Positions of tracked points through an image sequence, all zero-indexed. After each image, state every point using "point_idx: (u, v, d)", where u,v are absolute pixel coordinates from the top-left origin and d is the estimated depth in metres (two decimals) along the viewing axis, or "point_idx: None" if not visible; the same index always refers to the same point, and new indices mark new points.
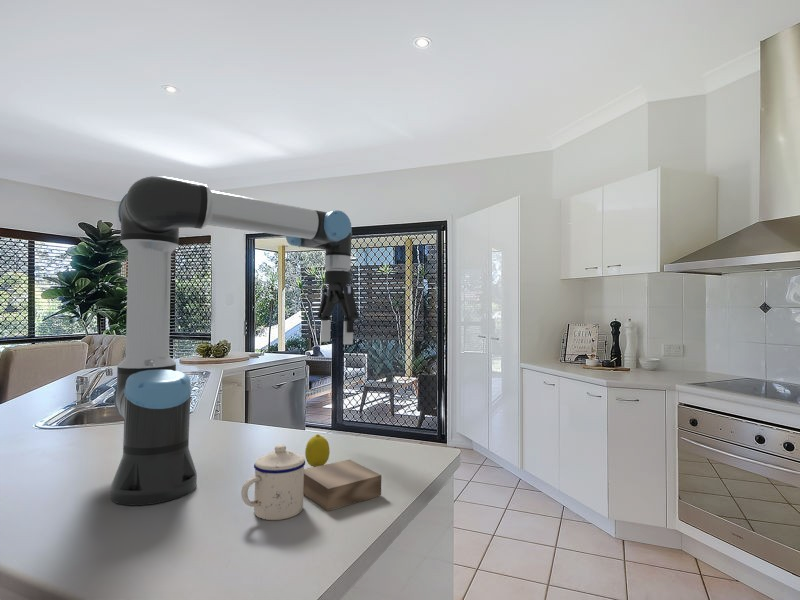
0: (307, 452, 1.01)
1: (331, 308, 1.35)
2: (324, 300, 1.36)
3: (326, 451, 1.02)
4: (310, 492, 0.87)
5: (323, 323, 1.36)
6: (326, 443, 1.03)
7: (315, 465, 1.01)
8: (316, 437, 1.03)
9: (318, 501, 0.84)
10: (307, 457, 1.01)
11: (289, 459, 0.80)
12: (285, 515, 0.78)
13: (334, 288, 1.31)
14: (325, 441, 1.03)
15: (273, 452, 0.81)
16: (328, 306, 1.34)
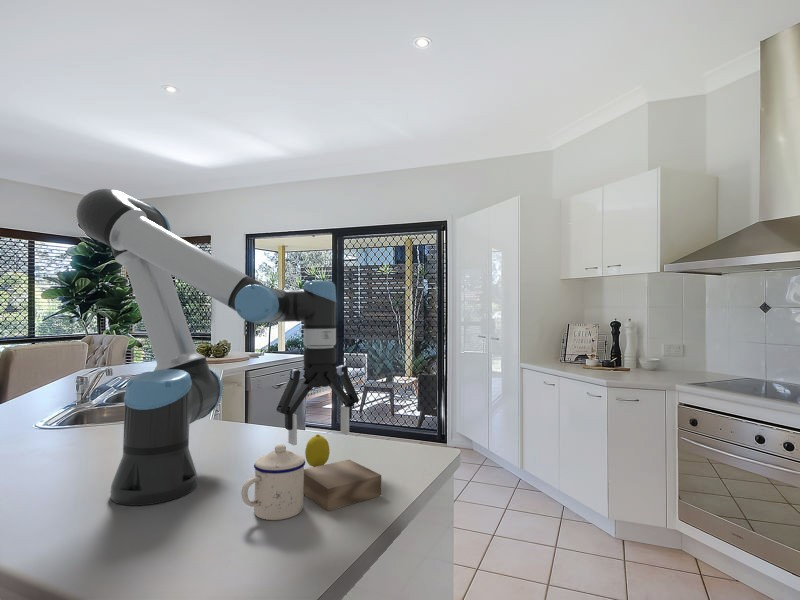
0: (307, 452, 1.01)
1: (337, 392, 1.06)
2: (341, 380, 1.09)
3: (326, 451, 1.02)
4: (310, 492, 0.87)
5: (341, 409, 1.09)
6: (326, 443, 1.03)
7: (315, 465, 1.01)
8: (316, 437, 1.03)
9: (318, 501, 0.84)
10: (307, 457, 1.01)
11: (289, 459, 0.80)
12: (285, 515, 0.78)
13: None
14: (325, 441, 1.03)
15: (273, 452, 0.81)
16: (332, 389, 1.07)
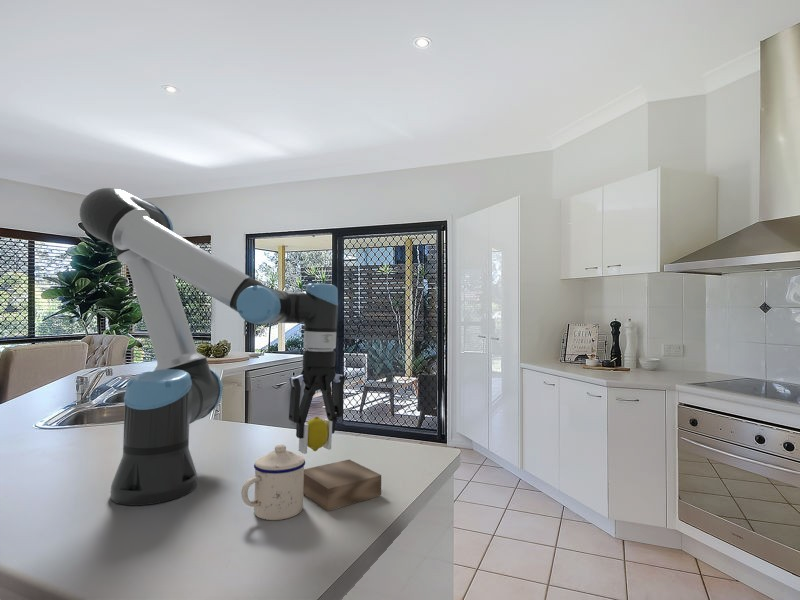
0: None
1: (326, 400, 1.05)
2: (334, 389, 1.08)
3: (325, 433, 1.02)
4: (310, 492, 0.87)
5: None
6: (324, 425, 1.03)
7: (313, 447, 1.01)
8: (315, 419, 1.03)
9: (318, 501, 0.84)
10: None
11: (289, 459, 0.80)
12: (285, 515, 0.78)
13: None
14: (324, 423, 1.03)
15: (273, 452, 0.81)
16: (323, 396, 1.06)
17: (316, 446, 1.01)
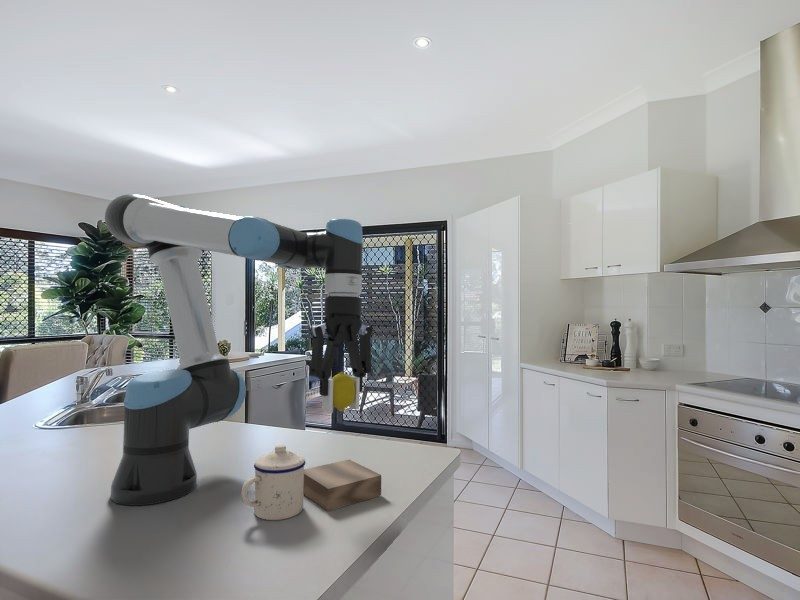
0: None
1: (352, 354, 0.92)
2: (360, 342, 0.95)
3: (352, 390, 0.89)
4: (310, 492, 0.87)
5: None
6: (351, 381, 0.90)
7: (339, 405, 0.88)
8: (340, 374, 0.90)
9: (318, 501, 0.84)
10: None
11: (289, 460, 0.80)
12: (285, 515, 0.78)
13: None
14: (350, 379, 0.90)
15: (273, 452, 0.81)
16: (348, 350, 0.93)
17: (343, 405, 0.88)
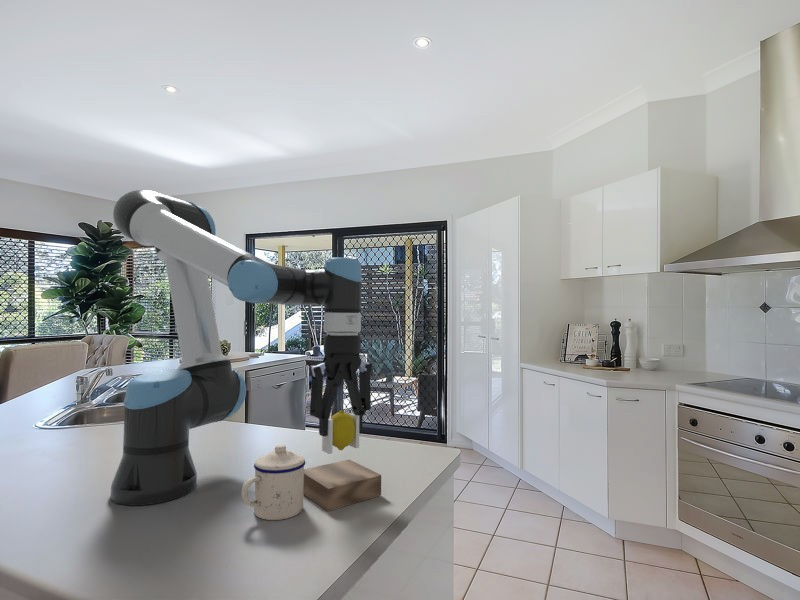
0: None
1: (352, 392, 0.91)
2: (360, 379, 0.94)
3: (352, 429, 0.89)
4: (310, 492, 0.87)
5: None
6: (351, 420, 0.89)
7: (339, 445, 0.88)
8: (340, 413, 0.89)
9: (318, 501, 0.84)
10: None
11: (289, 459, 0.80)
12: (285, 515, 0.78)
13: None
14: (350, 418, 0.90)
15: (273, 452, 0.81)
16: (348, 387, 0.92)
17: (342, 444, 0.88)
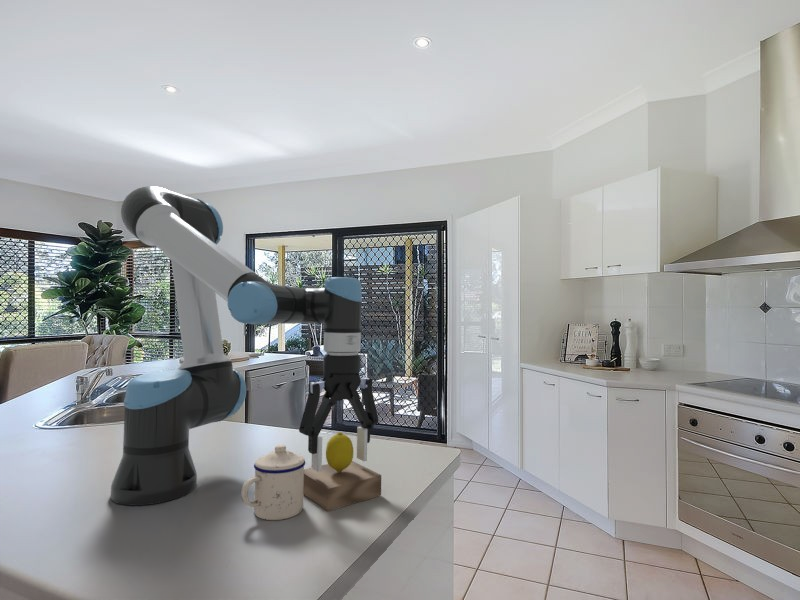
0: (328, 453, 0.88)
1: (356, 408, 0.92)
2: (363, 395, 0.95)
3: (350, 451, 0.89)
4: (310, 492, 0.87)
5: (358, 431, 0.94)
6: (350, 442, 0.89)
7: (338, 468, 0.88)
8: (338, 435, 0.89)
9: (318, 501, 0.84)
10: (328, 458, 0.88)
11: (289, 459, 0.80)
12: (285, 515, 0.78)
13: None
14: (348, 440, 0.90)
15: (273, 452, 0.81)
16: (352, 404, 0.93)
17: (341, 467, 0.88)
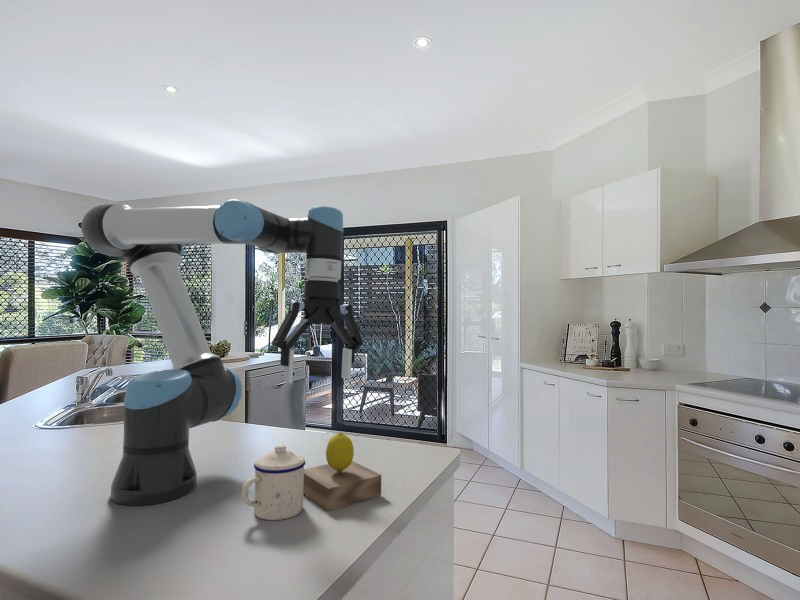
0: (328, 453, 0.88)
1: (339, 332, 0.97)
2: (345, 321, 1.00)
3: (351, 452, 0.89)
4: (310, 492, 0.87)
5: (343, 352, 0.99)
6: (350, 442, 0.89)
7: (338, 468, 0.88)
8: (338, 436, 0.89)
9: (318, 501, 0.84)
10: (328, 459, 0.88)
11: (289, 460, 0.80)
12: (285, 515, 0.78)
13: None
14: (349, 440, 0.89)
15: (273, 452, 0.81)
16: (335, 329, 0.98)
17: (341, 467, 0.88)
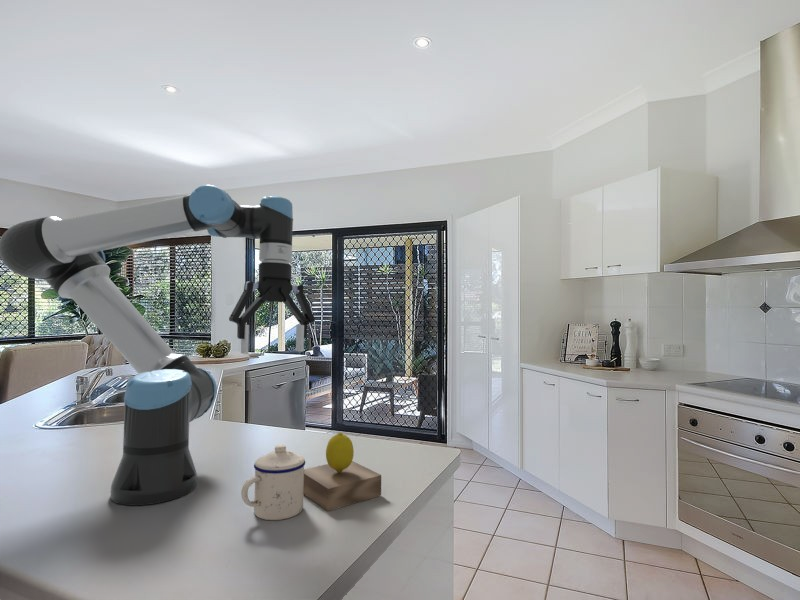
0: (328, 453, 0.88)
1: (292, 309, 1.08)
2: (298, 300, 1.11)
3: (351, 452, 0.89)
4: (310, 492, 0.87)
5: (297, 328, 1.11)
6: (350, 443, 0.89)
7: (337, 468, 0.88)
8: (338, 436, 0.89)
9: (318, 501, 0.84)
10: (328, 459, 0.88)
11: (289, 459, 0.80)
12: (285, 515, 0.78)
13: None
14: (349, 440, 0.89)
15: (273, 452, 0.81)
16: (288, 307, 1.09)
17: (341, 467, 0.88)
